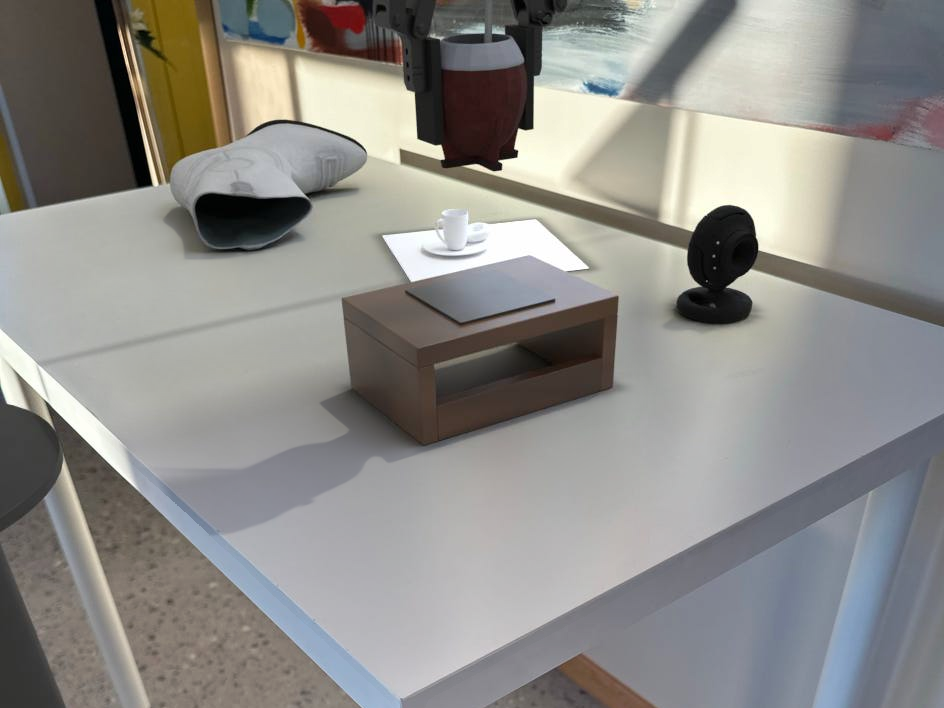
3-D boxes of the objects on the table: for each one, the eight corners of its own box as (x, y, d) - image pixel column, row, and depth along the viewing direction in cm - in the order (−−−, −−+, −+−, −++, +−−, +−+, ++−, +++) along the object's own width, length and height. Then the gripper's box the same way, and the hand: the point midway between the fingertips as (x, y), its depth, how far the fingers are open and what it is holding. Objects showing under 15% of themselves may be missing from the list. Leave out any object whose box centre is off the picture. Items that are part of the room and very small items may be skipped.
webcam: (709, 330, 94) (723, 222, 87) (659, 307, 99) (669, 203, 92) (768, 313, 97) (786, 207, 90) (716, 292, 102) (730, 190, 95)
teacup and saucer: (486, 234, 119) (485, 199, 116) (503, 254, 113) (503, 217, 110) (416, 242, 117) (413, 206, 115) (430, 262, 111) (428, 225, 109)
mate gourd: (457, 179, 69) (446, -82, 60) (415, 156, 75) (399, -86, 66) (548, 164, 72) (552, -88, 62) (501, 143, 77) (498, -92, 68)
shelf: (351, 388, 85) (340, 295, 80) (528, 339, 93) (529, 252, 88) (423, 445, 77) (416, 345, 72) (613, 387, 84) (619, 292, 79)
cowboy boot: (155, 141, 128) (173, 189, 109) (356, 103, 133) (405, 144, 115) (177, 215, 134) (197, 273, 116) (368, 177, 139) (416, 226, 121)
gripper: (341, -306, 51) (380, 164, 66) (637, -293, 59) (613, 124, 74) (285, -290, 56) (332, 144, 71) (564, -279, 64) (556, 108, 79)
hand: (476, 133), depth 72 cm, fingers closed on mate gourd, 7 cm apart
